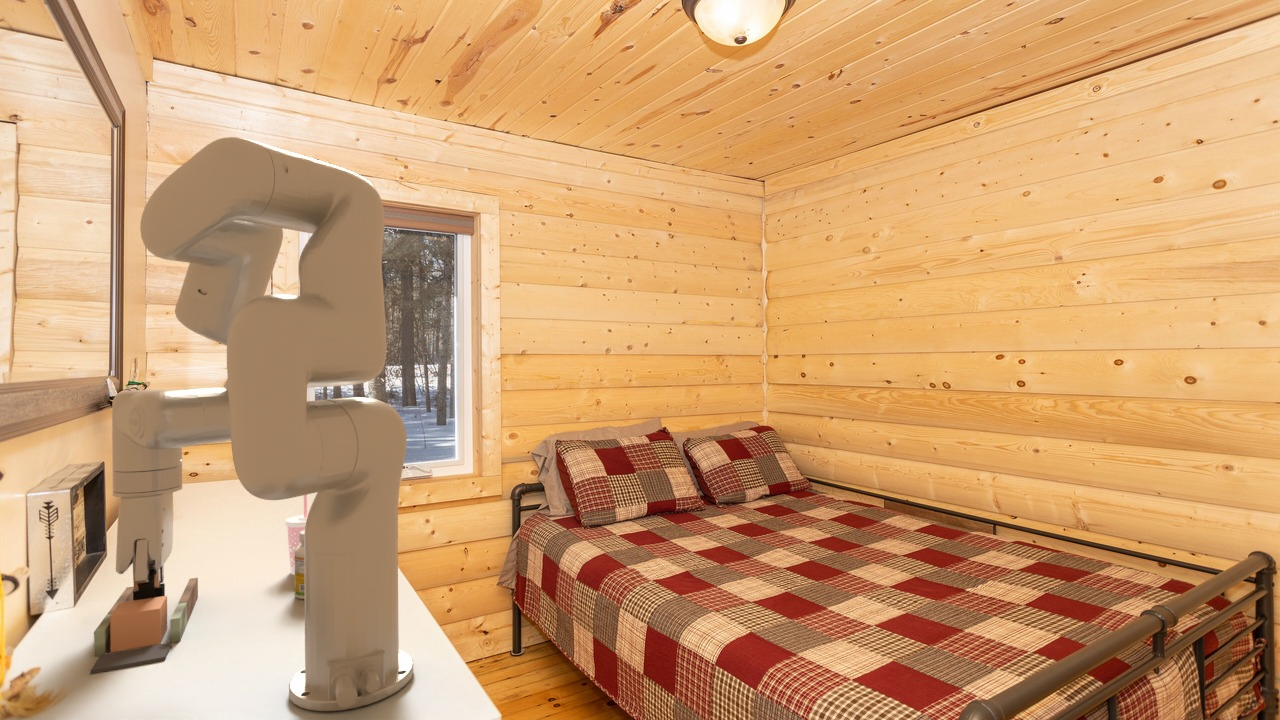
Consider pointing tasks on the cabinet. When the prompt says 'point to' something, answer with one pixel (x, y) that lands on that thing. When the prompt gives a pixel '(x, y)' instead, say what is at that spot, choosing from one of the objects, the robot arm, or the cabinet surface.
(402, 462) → the robot arm
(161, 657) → the thin dark grey plate
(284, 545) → the cabinet surface
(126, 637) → the block
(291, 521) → the beverage cup
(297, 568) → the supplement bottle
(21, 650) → the cabinet surface
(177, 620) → the pair of guide rails
